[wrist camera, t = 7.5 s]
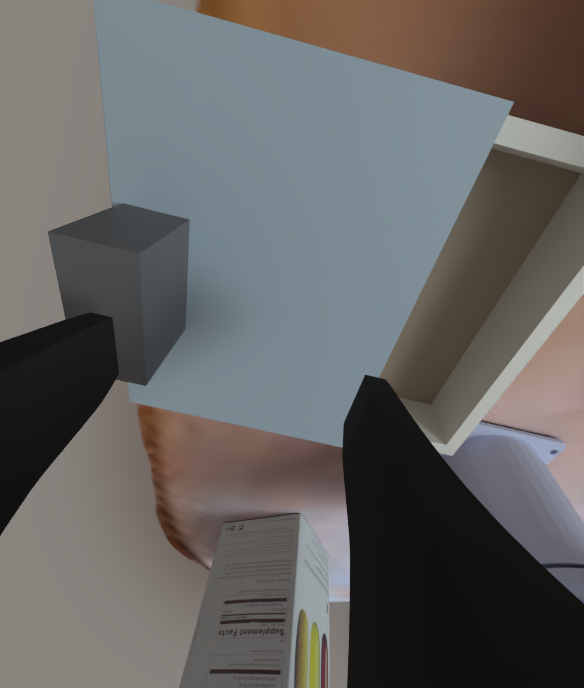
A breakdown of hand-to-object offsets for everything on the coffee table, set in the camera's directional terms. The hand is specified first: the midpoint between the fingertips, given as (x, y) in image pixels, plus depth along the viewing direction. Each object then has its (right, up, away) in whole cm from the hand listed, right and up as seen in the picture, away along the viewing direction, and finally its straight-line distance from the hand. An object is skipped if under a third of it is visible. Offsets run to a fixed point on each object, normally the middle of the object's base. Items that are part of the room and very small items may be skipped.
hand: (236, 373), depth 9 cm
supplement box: (0, -20, +26) cm, 33 cm away
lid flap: (0, +3, +5) cm, 6 cm away
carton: (+8, +4, +9) cm, 12 cm away
